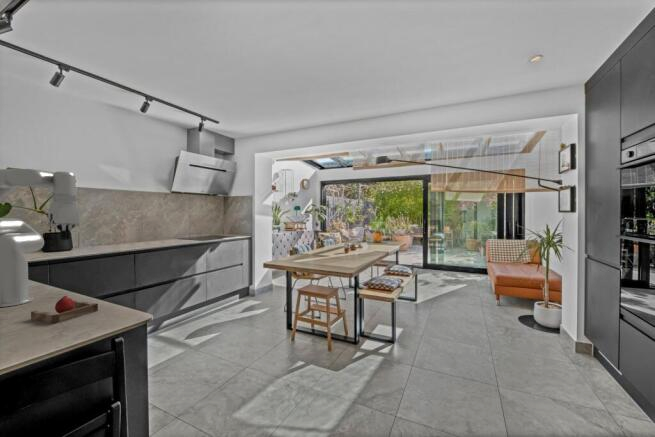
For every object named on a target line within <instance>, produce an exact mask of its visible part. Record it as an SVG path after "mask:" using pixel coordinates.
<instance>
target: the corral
mask: <svg viewBox="0 0 655 437" xmlns="http://www.w3.org/2000/svg"><path fill="white" fill-rule="evenodd" d="M73 301H74V303H75V307H74V308H73V310H70V311H66V312H63V313H52V312H47V311H42V310H32V311H30V320H31V321H32V320H33V321H38V322H43V323H49V324H54V325H55V324H59V323H62V322H65V321H68V320H69V321H70V320H73V319H76V318H78V317H82V316H85V315H89V314H92V313H96V312H99V304H98V303H95V302H88V301H81V300H73Z"/></svg>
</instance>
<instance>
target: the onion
mask: <svg viewBox="0 0 655 437" xmlns="http://www.w3.org/2000/svg"><path fill="white" fill-rule="evenodd" d="M74 301H75V300H73V299H71V298H70V297H68V295H67V294H65V295H64V296H62V297H61V298H60V299H59V300H58V301H56V303H55V306H54V309H55V311H56V314H59V313H63V312H66V311H70V310H73V308H74V307H75V303H74Z"/></svg>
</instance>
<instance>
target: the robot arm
mask: <svg viewBox="0 0 655 437" xmlns="http://www.w3.org/2000/svg"><path fill="white" fill-rule="evenodd" d="M76 185H77V184H76V175H75V173H73V172H69V171H55V172H53V171H47V170H41V169H33V168H32V169H31V168H30V169H29V168H12V169H11V168H0V201H2V200H3V199H4V198H5V197H6V196H8V194H10V193H12V191H13V190H14V189H19V188H21V187H27V188H28V187H29V188H30V187H31V188H45V189H52V191H53V201H51V202H50V204H49V209H48V217H47V218H48V219H47V221H48V223H49V227H50V228H51V227H52V228H55V229H57V230H58V231H59V234H60V235H59V237H60V239H61V240H65V241H67V240H68V241H69V240H70V238H71V231H72V230H73V229H74V228H75V227H79V226H80V222H81V221H80V220H81V218H80V217H81V214H80V208H79V204H78V202H77V201H79V200H80V199H79V197H77V195H76V194H77V193H76V192H77V190H76V188H77V187H76ZM44 246H45V240H44V237H43V236H42V235H41V233H39V232H38V231H37V230H35V229H34V228H33V227H32V226H30V225H29V224H28V223H26V222H25V221H24V220H22V219H19V218H15V217H4V218H3V217H0V308H4V307H12V306H13V307H14V306H19V305H23V304H27V303H30V302H32V301H34V297H33V296H29V264H28V263H29V262H28V260H27V258H26V257H25V255H24V254H28V253H33V252H38V251H40V250H41V249H42V248H43V247H44Z"/></svg>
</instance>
